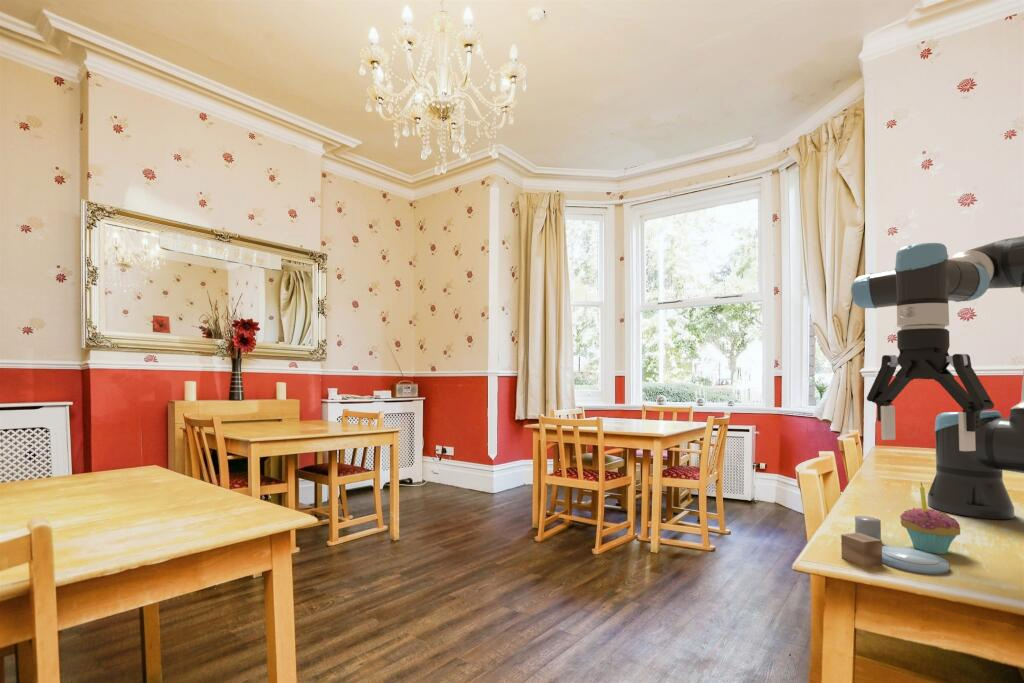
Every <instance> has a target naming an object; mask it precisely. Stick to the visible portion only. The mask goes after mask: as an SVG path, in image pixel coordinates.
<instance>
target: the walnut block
mask: <svg viewBox="0 0 1024 683" xmlns="http://www.w3.org/2000/svg"><path fill="white" fill-rule="evenodd" d="M840 540H841V545H840V546H841V559H843V560H845V561H848V562H850V563H853V564H856V565H858V566H861V567H863V568H864V567H865V568H866V567H873V566H882V565H883V563H882V546H883V541H882V539H881V540H879V539H876V538H873V537H870V536H867V535H864V534H861V533H843V534H842V533H841V538H840Z"/></svg>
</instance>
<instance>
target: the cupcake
mask: <svg viewBox="0 0 1024 683" xmlns="http://www.w3.org/2000/svg"><path fill="white" fill-rule="evenodd" d="M919 490H920V491H919V493H920V501H921V507H920V508H914V507H913V508H912V509H907V510H905V511H904V512H903V513H902V514H901V515H900V524H901V526H902V527H903V528H904V529H906V532H907V534H908V535H909V538H910V541H911V543H912V546H913V548H914V549H915V550H920V551H924V552H927V553H930V554H934V555H944V554H948V552H949V548H950V546H951V544H952V542H953V541H954V540H955V538H956V537H957V536H960V535H961V526H960V523H959V522H958V521H957V520H956V519H955V518H953V517H951V516H950V515H948V514H947V513H946V512H944V511H943V512H942V511H941V510H938V509H935V508H933V509H932V508H927V506H928V505H927V500H926V499H927V498H926V490H925V486H923V483H922V482H920V486H919Z"/></svg>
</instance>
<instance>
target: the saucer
mask: <svg viewBox="0 0 1024 683" xmlns="http://www.w3.org/2000/svg"><path fill="white" fill-rule="evenodd" d="M883 564H884V565H886V566H888V567H892V568H894V569H898V570H902V571H905V572H911V573H917V574H924V575H944V574H947V573H949V572H950V563H949V562H948V560H946V559H944V558H943V557H941V556H938V555H937V554H934V553H929V552H925V551H921V550H919V549H916V548H910V547H903V546H895V545H882V565H883Z"/></svg>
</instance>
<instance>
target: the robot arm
mask: <svg viewBox="0 0 1024 683" xmlns="http://www.w3.org/2000/svg"><path fill="white" fill-rule="evenodd" d="M895 255H896V256H895V267H894V269H892V270H886V271H881V272H875V273H868V274H863V275H860V276H857V277H856V278H855V279H854V280H853V282H852V283H851V288H850V293H851V298H852V301H853V302H854V304H855V305H856V306H857V307H859V308H861V309H878V308H885V307H895V306H896V326H897V327H898V328H901V330H898V331H897V332H896V336H897V337H896V338H897V339H896V341H897V342H896V343H897V345H896V346H897V349H898V350H899V354H898V356H896V355H893V354H891V355H890V354H888V355H887V354H885V355H882V357H881V365H880V369H879V370H878V373H877V374H876V377H875V379H874V382H873V383H872V386H871V388H870V390H869V392H868V393H867V397H866V400H867V401H868V402H872V403H873V404H875V405H876V406H877V420H878V422H880V433H881V435H880V436H881V438H880V439H881V441H892V440H894V441H895V440H897V439H896V406H894V405H893V401H895V399H896V398H897V397H898V396H899V394H900V393H902V391H903V390H904V389H905V388H906V386H907V385H908V384H909V383H910V382H911V381H913V380H934V381H935V382H936V383H937V382H938V383H939V384H940V386H941V387H942V388H943V389H944V391H946V392H947V393H948V394H949V396H951V397H952V399H953V400H954V401H955V402H956V403H957V404H958V405H959V407H960V408H962V410H961V411H950V412H949V411H947V412H941V413H939V414H937V416H936V417H935V424H934V429H933V430H934V435H935V436H934V437H935V441H934V443H935V463H936V464H935V465H936V466H935V467H936V468H935V471H936V472H935V476H934V479H933V481H932V483H931V486H930V489H929V491H928V494H927V506H929V507H931V508H933V509H935V510H938V511H940V512H942V511H943V512H944V513H950V514H954V515H960V516H967V517H971V518H972V517H973V518H977V519H978V518H979V519H987V520H989V519H991V520H1010V519H1014V518H1015V506H1014V505H1013V501H1012V500H1011V497H1010V495H1009V493H1008V490H1007V488H1006V486H1005V483H1004V480H1003V478H1004V477H1003V471H1007V472H1011V473H1012V472H1013V473H1020V474H1024V369H1023V373H1022V381H1021V382H1022V385H1021V397H1020V402H1019V403H1017V404H1015V405H1014V406H1011V408H1010V412H1009V417H1003V415H1002V413H1001V411H999V410H992V409H994V407H995V404H994V402H993V400H992V399H991V398H990V395H989V394H988V392H987V390H986V389H985V387H984V386H983V384H982V382H981V380H980V378H978V374H976V371H975V370H974V369H973V367H972V362H971V361H972V360H971V356H970V355H969V354H968V353H953V355H950V354H949V349H950V346H951V345H950V330H948V329H947V328H946V327H948V326H950V312H949V310H950V307H949V301H952V302H956V303H958V302H959V303H960V302H971V301H974V300H977V299H979V298H981V297H982V296H983V295H984V294H985V293H986V292H987V291H988V289H1012V288H1020V292H1021V293H1023V294H1024V235H1023V236H1017V237H1010V238H1005V239H1002V240H1001V239H1000V240H998V241H993V242H990V243H987V244H984V245H981V246H978V247H977V246H976V247H975V248H972V249H971V248H970V249H968V250H963V251H961V252H958V253H956V254H954V255H953V256H952V257H950V258H949V254H948V250H947V246H946V245H945V244H943V243H939V242H924V243H916V244H911V245H907V246H906V245H905V246H903V247H901V248H900V249H898V250H897V251H896V254H895ZM950 365H951V366H952V367H953V368H954V371H955V374H957V376H958V378H959V379H960V381H961V383H959V382H958V381H957V380H956V379H955V375H953V373H952V372H951V371H950V370H949V369H948V367H949V366H950ZM898 366H900V369H899V370H898V371H897V372H896V369H897V367H898ZM895 372H896V373H895ZM894 376H895V377H894ZM893 377H894V378H893ZM892 378H893V380H892ZM961 384H962V385H963V386H964V387H963V386H962V385H961Z"/></svg>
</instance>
